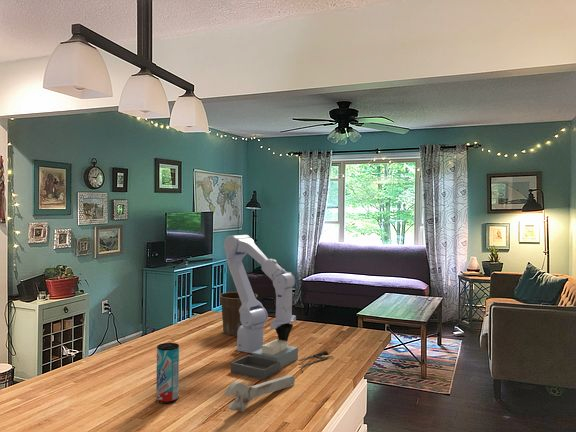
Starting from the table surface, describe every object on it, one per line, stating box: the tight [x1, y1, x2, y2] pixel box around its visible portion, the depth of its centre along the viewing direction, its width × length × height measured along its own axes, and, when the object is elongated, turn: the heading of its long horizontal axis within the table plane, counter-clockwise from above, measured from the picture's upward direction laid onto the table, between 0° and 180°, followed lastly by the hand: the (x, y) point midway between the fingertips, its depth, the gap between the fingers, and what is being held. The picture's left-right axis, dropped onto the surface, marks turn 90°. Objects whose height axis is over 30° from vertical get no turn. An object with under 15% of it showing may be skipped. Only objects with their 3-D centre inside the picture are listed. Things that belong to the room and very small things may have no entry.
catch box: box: [230, 354, 281, 381], centre depth 152 cm, size 13×10×3 cm
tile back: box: [270, 338, 288, 351], centre depth 164 cm, size 4×4×2 cm
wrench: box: [224, 374, 296, 413], centre depth 131 cm, size 8×2×30 cm
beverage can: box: [155, 342, 180, 404], centre depth 129 cm, size 6×6×15 cm
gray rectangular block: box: [251, 344, 299, 369], centre depth 163 cm, size 10×14×4 cm
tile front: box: [262, 341, 280, 355], centre depth 160 cm, size 4×4×2 cm
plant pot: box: [218, 291, 259, 337], centre depth 200 cm, size 16×16×16 cm
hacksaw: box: [297, 350, 335, 374], centre depth 162 cm, size 24×10×2 cm, turn 132°
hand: (283, 344), depth 167 cm, fingers closed
